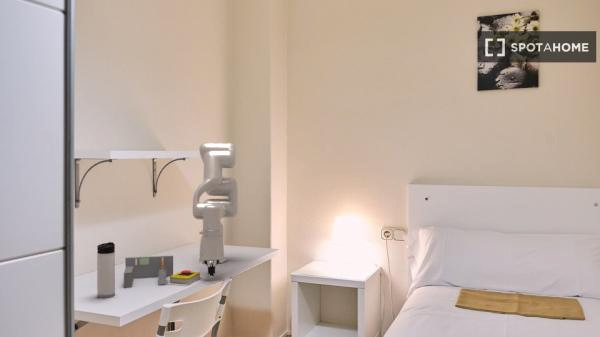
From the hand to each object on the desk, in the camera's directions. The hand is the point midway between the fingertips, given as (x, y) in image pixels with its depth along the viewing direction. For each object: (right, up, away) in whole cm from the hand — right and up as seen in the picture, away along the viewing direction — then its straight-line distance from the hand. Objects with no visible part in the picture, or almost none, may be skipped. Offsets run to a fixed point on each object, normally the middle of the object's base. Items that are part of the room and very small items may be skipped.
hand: (211, 275), depth 214 cm
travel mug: (-36, -2, -25) cm, 44 cm away
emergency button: (-11, -2, -3) cm, 12 cm away
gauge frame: (-26, -2, -4) cm, 26 cm away
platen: (-20, -2, -5) cm, 21 cm away
